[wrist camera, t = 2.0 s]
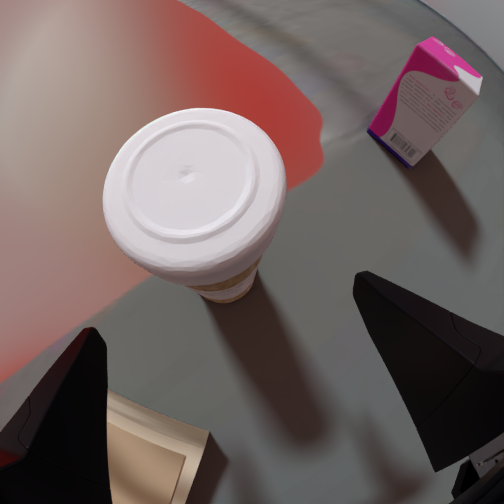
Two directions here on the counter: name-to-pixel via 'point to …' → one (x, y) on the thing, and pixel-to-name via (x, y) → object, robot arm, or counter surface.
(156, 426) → the beech tray
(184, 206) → the sprinkles bottle
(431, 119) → the supplement box
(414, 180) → the counter surface
